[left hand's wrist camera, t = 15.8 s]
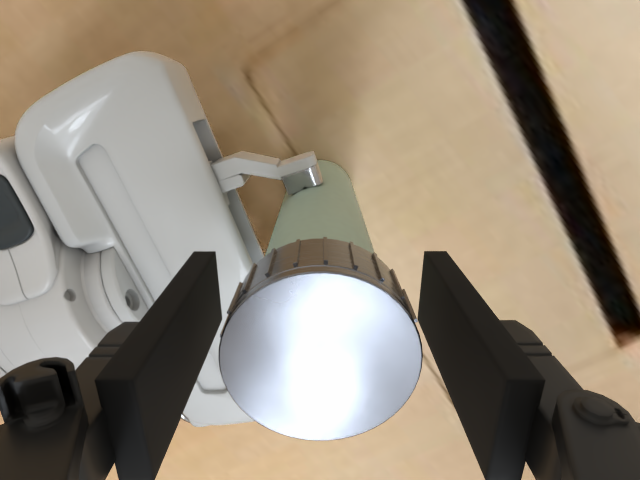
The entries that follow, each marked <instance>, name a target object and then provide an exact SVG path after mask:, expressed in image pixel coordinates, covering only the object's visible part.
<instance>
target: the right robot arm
mask: <svg viewBox="0 0 640 480" xmlns="http://www.w3.org/2000/svg"><path fill="white" fill-rule="evenodd" d="M251 175H255V176H260V177H266V178H272V179H277V180H283V183H284V185H285V188H286V190H287V193H288V195H291V194H294V193H298V192H300V191H302V190H303V188H304V187H307V188H312V187H316V186H318V185H320V184H322V183H323V177H322V174H321V171H320V168H319V165H318V161H317V158H316V156H315V153H314V151H309V152H306V153H303V154H300V155H297V156H294V157H291V158H288V159H285V160H282V161H281V160H280V158H275V157H270V156H265V155H261V154H256V153H251V152H246V151H240V152H237V153H234V154H232V155H229V156H226V157H223V155H222V153H221V151H220V148H219V146H218V144H217V141H216V139H215V136H214V134H213V132H212V129H211V127H210V124H209V122H208V120H207V117H206V115H205V112H204V110H203V108H202V105H201V103H200V101H199V98H198V96H197V93H196V91H195V89H194V86H193V84H192V81H191V79H190V76H189V74H188V72H187V70H186V68H185V67H184V66H183V65H182V64H181V63H179V62H177V61H175V60H173V59H171V58H169V57H167V56H164V55H161V54H158V53H155V52H149V51H135V52H130V53H127V54H124V55H121V56H119V57H116V58H114V59H111V60H109V61H107V62H105V63H103V64H100V65H98V66H96V67H94V68H92V69H90V70H88V71H86V72H84V73H82V74H80V75H78V76H77V77H75V78H73V79H71V80H69V81H68V82H66V83H64V84H62V85H61V86H59V87H57V88H56V89H54V90H53V91H51V92H49V93H48V94H46V95H45V96H43V97H42V98H40V99H39V100H37V101H36V102H35V103H33V104H32V105H31V106H30V107H29V108H28V109H27V110H26V111H25V112H24V114H23V115H22V117H21V118H20V120H19V122H18V124H17V127H16V131H15V136H11V137H7V138H3V139H0V378H1V377H2V376H4V375H5V374H7V373H8V372H10V371H11V370H12V369H15V368H17V367H19V366H21V365H23V364H25V363H28V362H31V361H35V360H38V359H42V358H50V357H61V358H67V359H69V360H70V361H71V362H72V363H74V367H75V370H76V369H77V368H78V366H79V365H80V364H81V363H82V362H83V361H84V359H85V358H86V357H89V354H90V353H91V351H92V350H93V349H94V348H95V347H97V346H98V343H99V342H100V341H101V340H102V339H103V338H104V336H105V335H106V334H107V333H108V332H109V331H111V330H112V329H114V328H115V327H117V326H119V325H120V324H122V323H123V322H140V320H141V319H142V318H143V317H144V315H145V314H146V313H147V311H148V310H149V309H150V307H151V306H152V305H153V304H154V302H155V301H156V300H157V298H158V297H159V296H160V294H161V293H162V292H163V291H164V289H165V288H166V287H167V285H168V284H169V283H170V282H171V280H172V279H173V278H174V276H175V275H176V274H177V272H178V271H179V270H180V269H181V267H182V266H183V265H184V263H185V262H186V261H187V260H188V258H189V257H190V256H191V254H192V253H193V252H194V251H216V260H217V270H218V280H219V290H220V300H221V310H222V321H221V324H220V326H219V328H218V331H217V333H216V335H215V338H214V340H213V343H212V345H211V347H210V350H209V352H208V354H207V357H206V359H205V362H204V364H203V366H202V369H201V371H200V373H199V376H198V378H197V381H196V383H195V385H194V388H193V390H192V392H191V395H190V397H189V399H188V402H187V404H186V407H185V409H184V411H183V414H182V416H181V419H183V420H184V421H186V422H189V423H191V424H192V425H193V426H195V427H204V426H208V425H228V424H238V423H246V422H253V421H255V420H253V419H252V418H250V417H249V416H248V415H247V414H246V413H245V412H244V411H242V410H241V409H240V407H239V406H238V405H237V404H236V403H235V402H234V400H233V399H232V397H231V396H230V394H229V392H228V391H227V389H226V386H225V384H224V382H223V379H222V376H221V372H220V367H219V359H218V357H219V344H220V339H221V338H220V334H221V331H222V329H223V326H224V324H225V321H226V319H227V316H228V314H227V311H228V309H229V306H230V304H231V301H232V299H233V296H234V294H235V292H236V289H237V287H238V284H239V282H242V283H243V281H244V279H245V277H246V276H247V274H248V273H249V271H250V269H251V266H252V264H253V263H255V264H257V263H258V262H259V261H260V260H261V259H262V258H263V257H265V256H264V254H263V251H262V249H261V246H260V244H259V242H258V239H257V237H256V234H255V232H254V230H253V227H252V225H251V222H250V220H249V218H248V215H247V213H246V211H245V208H244V206H243V203H242V201H241V199H240V196H239V194H238V191H237V189H236V188H238V187H241V186H243V185H244V184H245V183H246V181H247V180H248V179H249V178H250V176H251Z"/></svg>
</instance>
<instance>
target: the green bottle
mask: <svg viewBox="0 0 640 480" xmlns="http://www.w3.org/2000/svg"><path fill="white" fill-rule="evenodd" d="M317 161H318V165H319V168H320V171H321V174H322V177H323V183H322V184H320V185H318V186H316V187H312V188H307V187H304V188H303V190H302V191H300V192H298V193H294V194H291V195H288V193H287V190H286V193H285V196H284V199H283V202H282V205H281V208H280V211H279V215H278V218H277V221H276V224H275V227H274V230H273V233H272V236H271V239H270V242H269V245H268V248H267V251H266V254H265V256H266V255H267V254H269V253H270V252H271V250H272V249H273V248H275V249H277V248H279V247H282V246H284V245H287V244H289V243H293V242H296V240H297V239H300V240H306V239H320V238H323V237H327V239H335V240H340V241H345V242H350V241H351V242H353V243H354V245H357V246H359V247H361V248H363V249H365V250H367V251H369V252H371V253H372V254H373V253H374V250H373V247H372V243H371V240H370V237H369V234H368V231H367V228H366V225H365V222H364V219H363V216H362V213H361V210H360V207H359V204H358V201H357V198H356V195H355V192H354V189H353V186H352V183H351V180H350V178H349V176H348V174H347V173H346V172H345V171H344V170H343V169H342V168H341V167H340V166H339V165H337V164H335V163H333V162H330V161H326V160H317Z"/></svg>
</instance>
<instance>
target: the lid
mask: <svg viewBox="0 0 640 480" xmlns="http://www.w3.org/2000/svg"><path fill="white" fill-rule="evenodd" d="M227 314H228V316H227V319H226V321H225V324H224V326H223V329H222V331H221V334H220V338H221V339H220V344H219V357H218V359H219V367H220V372H221V376H222V379H223V382H224V384H225V386H226V389H227V391H228V392H229V394H230V396H231V397H232V399H233V400H234V402H235V403H236V404H237V405H238V406H239V407H240V409H241V410H242V411H244V412H245V413H246V414H247V415H248V416H249V417H250V418H252V419H253V420H255V421H256V422H257V423H259V424H261V425H262V426H264V427H266V428H268V429H270V430H272V431H275V432H277V433H279V434H282V435H286V436H289V437H293V438H298V439H304V440H315V441H324V440H337V439H343V438H348V437H352V436H355V435H358V434H361V433H364V432H366V431H369V430H371V429H373V428H375V427H377V426H378V425H380V424H382V423H384V422H385V421H386V420H388V419H389V418H390V417H392V416H393V415H394V414H395V413H396V412H397V411H398V410H399V409H400V408H401V407H402V406H403V405H404V404H405V403H406V401H407V400H408V399H409V397H410V396H411V394H412V392H413V391H414V389H415V386H416V384H417V382H418V379H419V376H420V372H421V368H422V358H423V354H422V344H421V339H420V335H419V332H418V330H417V327H416V325H415V322H418V321H417V318H416V316H415V313H414V311H413V309H412V306H411V304H410V301H409V299H408V297H407V294H406V292H405V289H403V290H402V289H401V287H400V284H399V282H398V279H397V277H396V274H395V272H394V270H393V269H391V270H390V269H389V268H388V267H387V266H386V265H385V264H384V263H383V262H382V261H381V260H380V259H379V258H378V257H377V254H376V253H373V254H372V253H371V252H369V251H367V250H365V249H363V248H361V247H359V246H357V245H354V243H353V242H351V241H350V242H345V241H340V240H335V239H327V237H323V238H320V239H306V240H300V239H297V240H296V242H293V243H289V244H287V245H284V246H282V247H279V248H277V249H275V248H273V249H272V250H271V252H270V253H269V254H267V255H266V256H265V257H263V258H262V259H261V260H260V261H259V262H258V263H257V264H255V263H253V264H252V266H251V269H250V271H249V273H248V274H247V276H246V277H245V279H244V281H243V283H242V282H239V284H238V287H237V289H236V292H235V294H234V296H233V299H232V301H231V304H230V306H229V309H228V311H227Z"/></svg>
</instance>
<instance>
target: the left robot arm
mask: <svg viewBox="0 0 640 480" xmlns="http://www.w3.org/2000/svg"><path fill="white" fill-rule="evenodd" d="M221 321H222V310H221V300H220V290H219V280H218V270H217V260H216V251H194V252H193V253H192V254H191V256H190V257H189V258H188V260H187V261H186V262H185V263H184V265H183V266H182V267H181V269H180V270H179V271H178V272H177V274H176V275H175V276H174V278H173V279H172V280H171V282H170V283H169V284H168V285H167V287H166V288H165V289H164V291H163V292H162V293H161V294H160V296H159V297H158V298H157V300H156V301H155V302H154V304H153V305H152V306H151V307H150V309H149V310H148V311H147V313H146V314H145V315H144V317H143V318H142V319H141V320H140V322H123V323H122V324H120V325H119V326H117V327H115V328H114V329H112V330H111V331H109V332H108V333H107V334H106V335H105V336H104V338H103V339H102V340H101V341H100V342H99V343H98V346H97V347H95V348H94V349H93V350H92V351H91V353H90V354H89V357H86V358H85V359H84V361H83V362H82V363H81V364H80V365H79V366H78V368H77V369H76V370H75V367H74V363H72V362H71V361H70V360H69V359H67V358H61V357H50V358H42V359H38V360H35V361H31V362H28V363H25V364H23V365H21V366H19V367H17V368H15V369H12V370H11V371H10V372H8V373H7V374H5V375H4V376H2V377H1V378H0V411H1V414H2V417H3V420H4V422H5V423H4V424H2V425H0V480H105V479H106V477H107V475H108V473H109V472H110V470H111V468H112V466H113V464H114V463H115V466H116V470H117V474H118V478H119V480H155V478H156V475H157V473H158V471H159V468H160V466H161V463H162V461H163V459H164V456H165V454H166V452H167V449H168V447H169V444H170V442H171V440H172V437H173V435H174V433H175V430H176V428H177V426H178V423H179V421H180V418H181V416H182V414H183V411H184V409H185V407H186V404H187V402H188V399H189V397H190V395H191V392H192V390H193V388H194V385H195V383H196V381H197V378H198V376H199V373H200V371H201V369H202V366H203V364H204V362H205V359H206V357H207V354H208V352H209V350H210V347H211V345H212V343H213V340H214V338H215V335H216V333H217V331H218V328H219V326H220V324H221ZM418 321H419V324H420V326H421V328H422V331H423V333H424V335H425V338H426V340H427V343H428V345H429V347H430V350H431V352H432V354H433V357H434V359H435V362H436V364H437V366H438V369H439V371H440V373H441V376H442V378H443V381H444V383H445V385H446V388H447V390H448V392H449V395H450V397H451V399H452V402H453V404H454V407H455V409H456V411H457V414H458V416H459V418H460V421H461V423H462V426H463V428H464V430H465V433H466V435H467V437H468V440H469V442H470V444H471V447H472V449H473V452H474V454H475V456H476V459H477V461H478V463H479V466H480V468H481V471H482V473H483V475H484V478H485V480H521V478H522V474H523V470H524V466H525V462H527V464H528V466H529V468H530V470H531V471H532V473H533V475H534V477H535V479H536V480H640V423H638V422H635V421H634V419H633V418H632V416H631V415H630V414H629V412H628V411H626V410H625V409H624V408H623V407H622V406H620V405H619V404H618V403H616V402H615V401H613V400H611V399H609V398H607V397H605V396H603V395H601V394H597V393H594V392H591V391H588V390H583V389H582V387H581V386H580V385H579V384H578V383H577V382H576V381H575V379H574V378H573V377H572V376H571V375H570V374H569V373H568V371H567V370H566V369H565V368H564V367H563V366H562V365H561V363H560V362H559V361H558V360H557V359H556V358H555V356H552V353H551V352H550V351H549V350H548V348H547V347H546V346H545V345H543V343H542V342H541V340H540V339H539V338H538V337H537V336H536V335H535V334H534V332H533V331H532V330H530V329H528V328H527V327H525V326H524V325H522V324H521V323H519V322H517V321H516V320H499V319H498V318H497V317H496V315H495V314H494V313H493V311H492V310H491V309H490V307H489V306H488V305H487V304H486V302H485V301H484V300H483V298H482V297H481V296H480V294H479V293H478V292H477V291H476V289H475V288H474V287H473V285H472V284H471V283H470V282H469V280H468V279H467V278H466V276H465V275H464V274H463V272H462V271H461V270H460V269H459V267H458V266H457V265H456V263H455V262H454V261H453V260H452V258H451V257H450V256H449V254H448V253H447V252H446V251H424V260H423V270H422V280H421V290H420V300H419V310H418Z"/></svg>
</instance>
